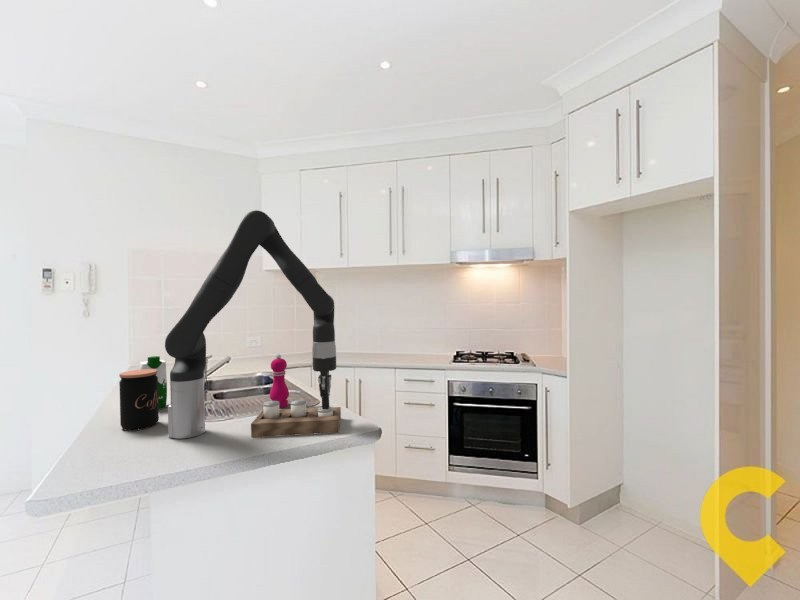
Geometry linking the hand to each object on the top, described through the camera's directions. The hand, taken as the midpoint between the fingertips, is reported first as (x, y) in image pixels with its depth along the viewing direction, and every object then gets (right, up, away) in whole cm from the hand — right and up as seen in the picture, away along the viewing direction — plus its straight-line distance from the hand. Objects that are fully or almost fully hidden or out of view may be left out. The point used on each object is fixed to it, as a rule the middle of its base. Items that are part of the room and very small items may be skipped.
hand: (325, 408), depth 128 cm
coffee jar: (-63, -7, +4) cm, 63 cm away
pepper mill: (-23, -6, +25) cm, 34 cm away
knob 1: (-17, -3, -2) cm, 17 cm away
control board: (-8, -6, -1) cm, 10 cm away
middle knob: (-9, -3, -1) cm, 9 cm away
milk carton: (-72, -7, +26) cm, 77 cm away
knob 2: (0, -5, 0) cm, 5 cm away
